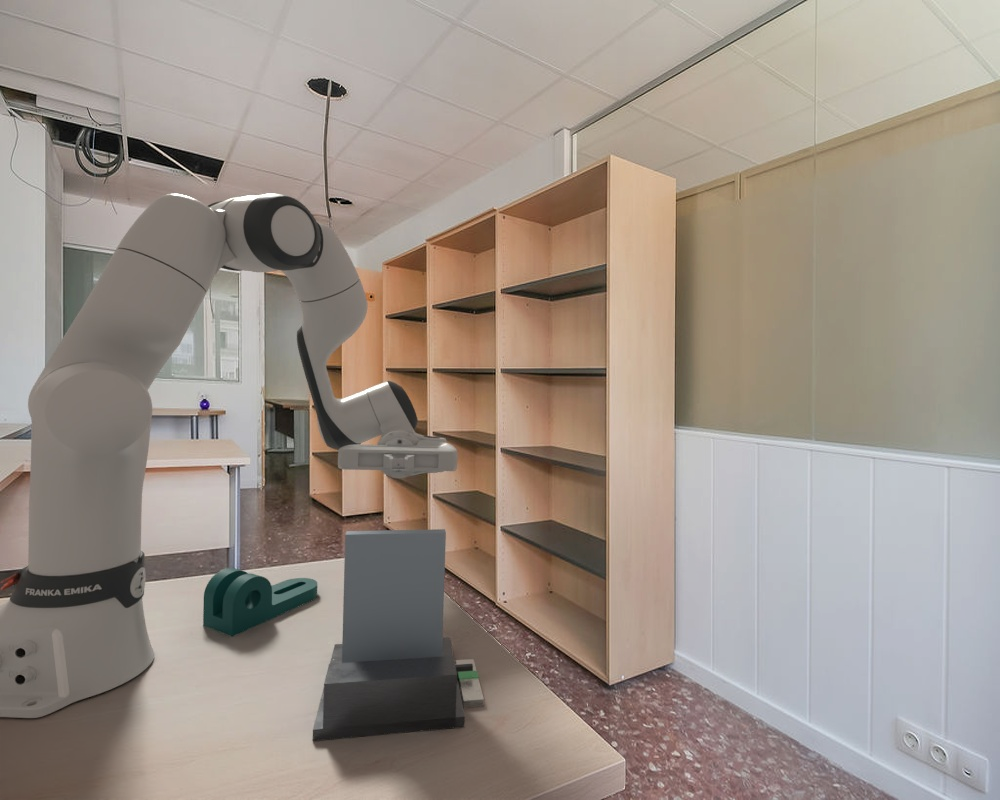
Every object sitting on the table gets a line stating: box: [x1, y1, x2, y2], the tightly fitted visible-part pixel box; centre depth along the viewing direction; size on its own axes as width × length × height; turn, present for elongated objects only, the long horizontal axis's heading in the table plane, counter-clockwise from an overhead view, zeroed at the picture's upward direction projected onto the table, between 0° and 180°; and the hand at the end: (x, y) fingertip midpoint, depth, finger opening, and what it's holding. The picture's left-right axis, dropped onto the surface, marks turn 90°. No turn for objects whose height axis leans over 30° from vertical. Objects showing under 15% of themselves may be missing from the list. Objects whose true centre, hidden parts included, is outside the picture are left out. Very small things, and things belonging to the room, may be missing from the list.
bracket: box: [202, 567, 318, 638], centre depth 85 cm, size 18×7×8 cm, turn 153°
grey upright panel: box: [341, 528, 473, 672], centre depth 64 cm, size 16×2×18 cm, turn 101°
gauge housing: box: [312, 637, 485, 742], centre depth 65 cm, size 19×18×6 cm
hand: (398, 464), depth 83 cm, fingers closed
